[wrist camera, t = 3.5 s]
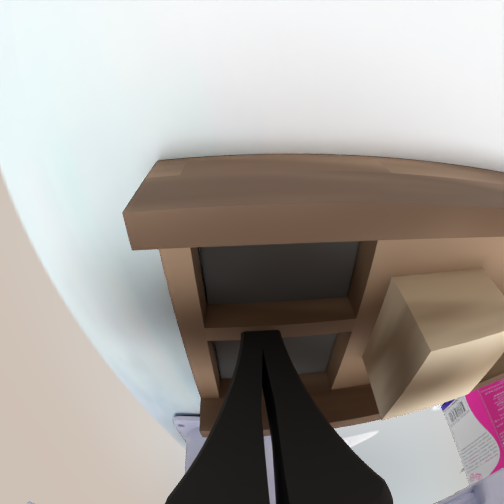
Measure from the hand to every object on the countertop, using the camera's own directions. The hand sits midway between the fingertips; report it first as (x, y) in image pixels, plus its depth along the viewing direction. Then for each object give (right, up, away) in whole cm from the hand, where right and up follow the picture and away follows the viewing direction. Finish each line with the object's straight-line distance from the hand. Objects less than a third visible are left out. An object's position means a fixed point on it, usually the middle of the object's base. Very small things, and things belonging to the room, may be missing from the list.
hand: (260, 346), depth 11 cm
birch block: (+7, +1, +1) cm, 7 cm away
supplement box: (+22, -10, +11) cm, 27 cm away
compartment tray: (+10, +2, +2) cm, 10 cm away
